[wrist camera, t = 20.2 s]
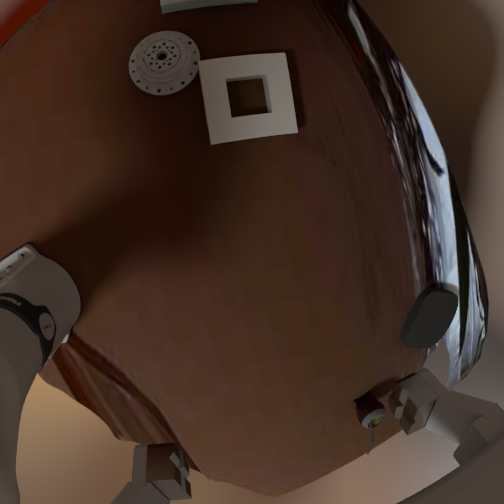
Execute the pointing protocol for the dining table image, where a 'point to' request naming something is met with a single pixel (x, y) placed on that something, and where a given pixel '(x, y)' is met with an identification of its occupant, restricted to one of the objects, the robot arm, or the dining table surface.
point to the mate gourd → (370, 413)
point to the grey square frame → (245, 68)
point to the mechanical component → (164, 62)
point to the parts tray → (196, 4)
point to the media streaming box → (429, 318)
